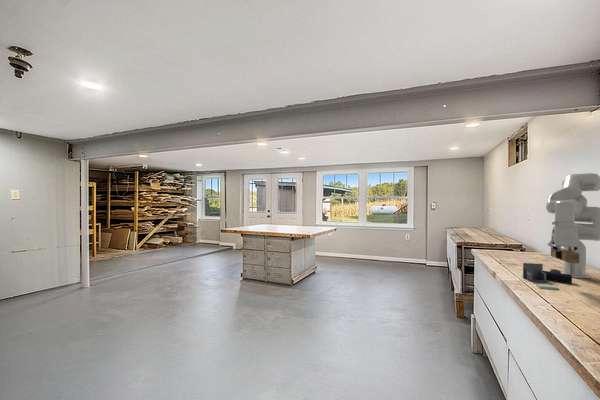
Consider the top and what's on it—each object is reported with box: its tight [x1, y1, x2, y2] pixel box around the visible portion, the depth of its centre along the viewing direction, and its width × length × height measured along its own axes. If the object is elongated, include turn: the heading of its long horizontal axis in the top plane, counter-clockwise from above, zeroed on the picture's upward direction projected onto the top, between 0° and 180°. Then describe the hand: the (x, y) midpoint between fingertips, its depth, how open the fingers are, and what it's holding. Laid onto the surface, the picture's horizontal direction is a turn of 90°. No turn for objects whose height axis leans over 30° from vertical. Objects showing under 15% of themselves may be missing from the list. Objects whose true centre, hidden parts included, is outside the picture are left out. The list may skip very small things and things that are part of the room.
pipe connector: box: [543, 268, 573, 285], centre depth 163 cm, size 12×5×15 cm
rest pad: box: [536, 283, 560, 291], centre depth 148 cm, size 4×8×1 cm, turn 72°
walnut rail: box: [550, 247, 579, 263], centre depth 149 cm, size 16×4×5 cm, turn 164°
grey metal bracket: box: [522, 262, 547, 284], centre depth 160 cm, size 7×9×9 cm
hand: (564, 258), depth 149 cm, fingers closed on walnut rail, 4 cm apart
